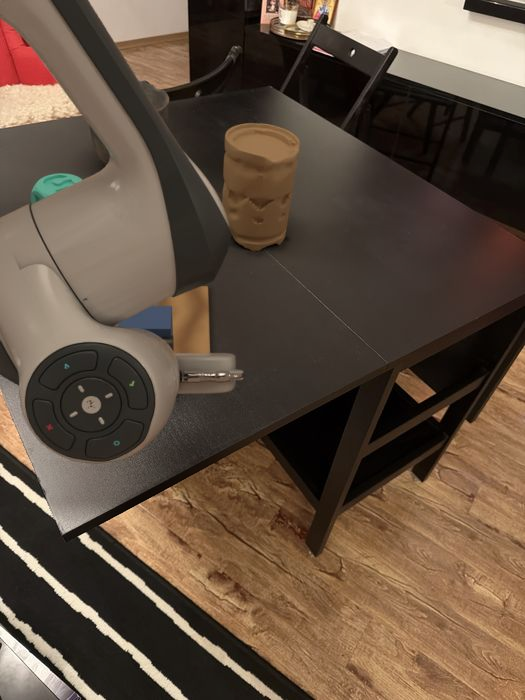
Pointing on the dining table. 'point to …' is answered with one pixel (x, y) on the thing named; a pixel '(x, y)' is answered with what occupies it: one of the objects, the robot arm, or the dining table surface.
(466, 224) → the dining table surface
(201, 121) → the dining table surface
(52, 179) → the decorative dice
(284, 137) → the container
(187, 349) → the brown flat square board
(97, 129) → the robot arm
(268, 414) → the dining table surface
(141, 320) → the toy car
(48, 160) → the dining table surface
